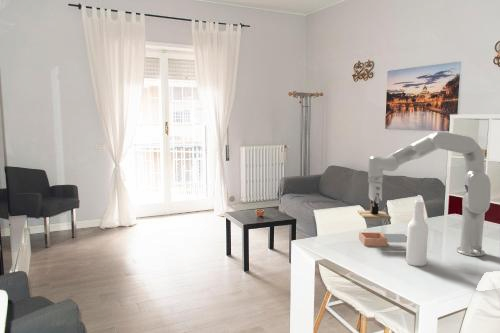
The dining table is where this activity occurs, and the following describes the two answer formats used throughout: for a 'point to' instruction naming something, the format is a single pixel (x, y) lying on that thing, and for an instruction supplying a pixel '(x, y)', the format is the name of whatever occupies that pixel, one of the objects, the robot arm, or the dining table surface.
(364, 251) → the dining table surface
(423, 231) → the alcohol
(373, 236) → the dish
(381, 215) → the lid
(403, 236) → the mat
